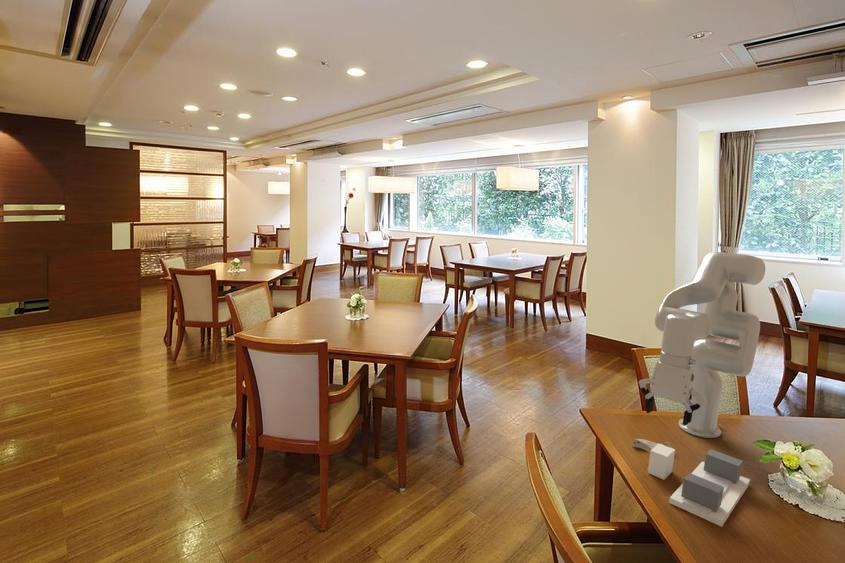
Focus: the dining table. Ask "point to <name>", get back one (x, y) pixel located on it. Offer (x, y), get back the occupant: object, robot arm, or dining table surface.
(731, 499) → the rail board
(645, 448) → the fossil
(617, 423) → the dining table surface
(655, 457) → the block
